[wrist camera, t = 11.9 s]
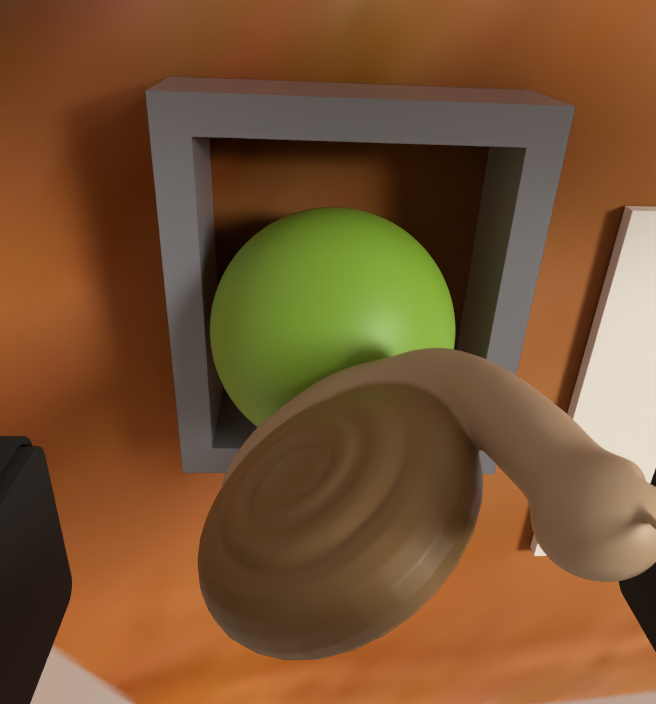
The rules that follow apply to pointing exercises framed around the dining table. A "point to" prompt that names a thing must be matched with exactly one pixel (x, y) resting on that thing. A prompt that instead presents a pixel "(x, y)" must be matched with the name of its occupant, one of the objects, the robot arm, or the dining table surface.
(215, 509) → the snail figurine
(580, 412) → the mat
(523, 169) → the socket base
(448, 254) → the dining table surface
